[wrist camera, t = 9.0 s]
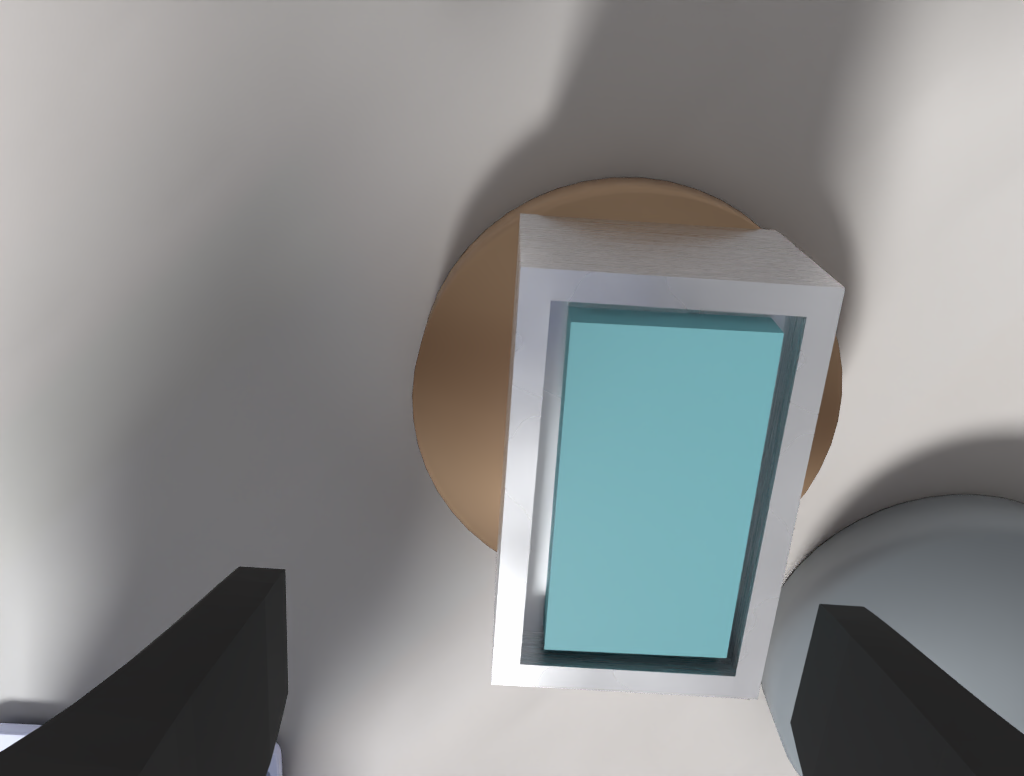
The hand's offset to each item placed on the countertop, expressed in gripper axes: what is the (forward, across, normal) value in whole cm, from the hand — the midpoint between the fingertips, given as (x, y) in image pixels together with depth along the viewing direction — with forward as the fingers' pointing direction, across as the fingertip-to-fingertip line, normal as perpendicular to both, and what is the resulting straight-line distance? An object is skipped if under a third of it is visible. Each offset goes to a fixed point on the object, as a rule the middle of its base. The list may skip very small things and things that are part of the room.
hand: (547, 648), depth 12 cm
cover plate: (+4, -2, 0) cm, 5 cm away
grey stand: (+9, -11, +6) cm, 16 cm away
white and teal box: (+8, -2, 0) cm, 8 cm away
